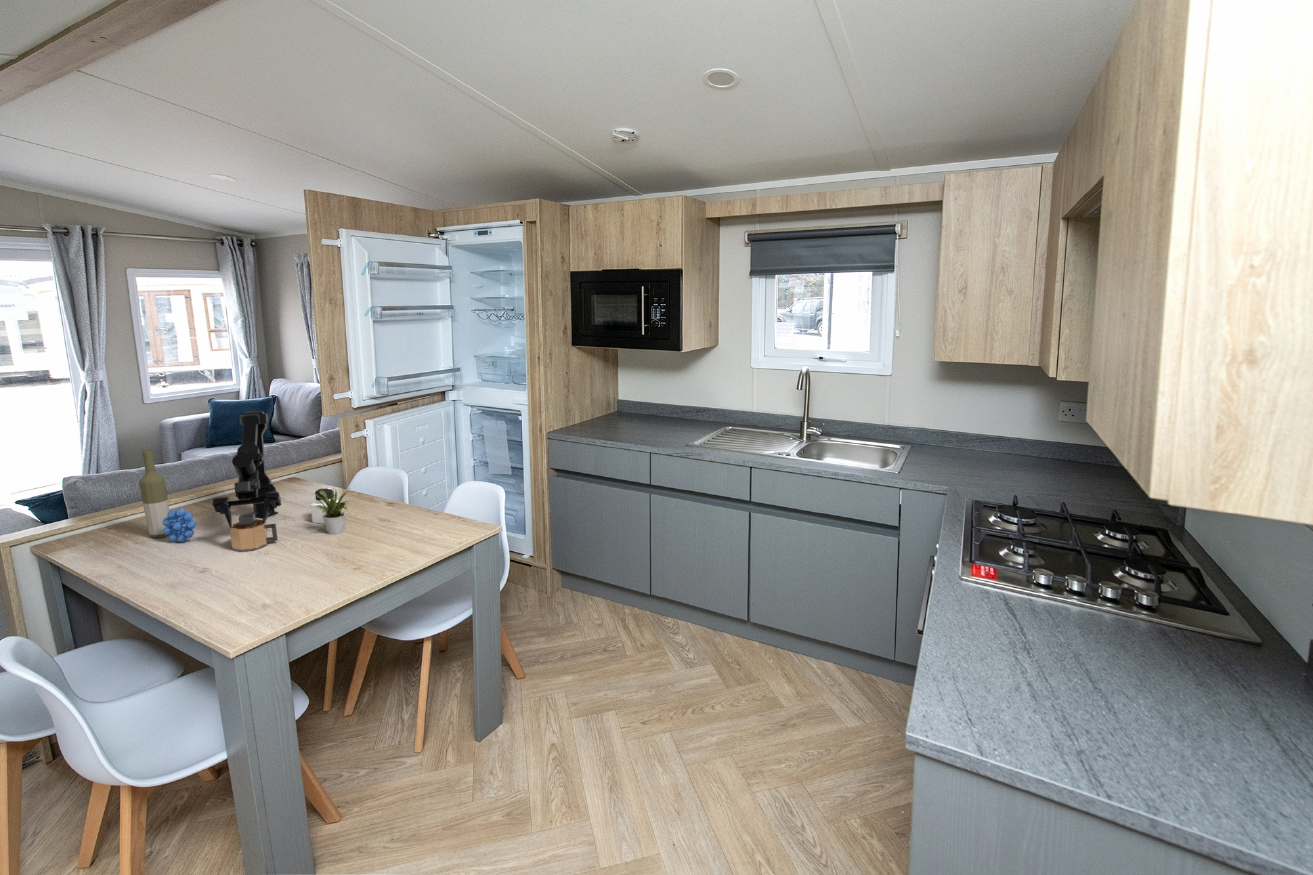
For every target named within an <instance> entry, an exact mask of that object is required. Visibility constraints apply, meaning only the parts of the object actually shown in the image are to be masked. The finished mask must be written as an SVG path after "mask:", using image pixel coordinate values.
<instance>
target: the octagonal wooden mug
mask: <svg viewBox="0 0 1313 875" xmlns="http://www.w3.org/2000/svg"><path fill="white" fill-rule="evenodd" d="M255 519H256V522H255V524H254V525H250V528H247V526H242V527H240V526H239V521H238V522H235V523H232V526H231V527H230V526H229V534H230V541H231V548H232V550H233V551H234V552H238V553H245V552H253V551H257V549H258V550H261V549H263V548H265V547H267V546H268V545H269V543H270V542H277V541H278V540H279V539H278V532H277V531H278V529H277V523H270V524H269V523H268V524H267V521H266V522H265V523H263V519H261V518H255ZM267 529H271V534H272V536H271V537H268V530H267Z"/></svg>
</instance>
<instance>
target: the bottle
mask: <svg viewBox="0 0 1313 875" xmlns="http://www.w3.org/2000/svg"><path fill="white" fill-rule="evenodd" d="M141 455H142V457H143V458H142V459H143V464H144V469H145V472H144V474H143V476H142V477H141V478H140V480H139V482H138V486H139V490H140V495H141V500H142V505H143V510H144V515H145V521H146V526H147V530H148V536H150V537H151V538H163V537H167V536H168V535H165V534H164V533H163V530H164V528H165V527H167V526H164V525H163V523H162V522H163V520H164V518H167V514H168V512H169V511H170V505H169V496H168V491H167V483H166V479H165V477H164V476H162V474H159V473H158V472H157V471H156V466H155V460H154V452H153V450H152V449H145V450H141Z"/></svg>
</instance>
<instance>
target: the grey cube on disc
mask: <svg viewBox="0 0 1313 875" xmlns="http://www.w3.org/2000/svg"><path fill="white" fill-rule="evenodd" d="M256 519H257V518H256V517H255V513H254V512H249V513H240V514H239V516H238V522H239V526H240V527H242V526H247V528H250V525H254V524H255V522H256Z"/></svg>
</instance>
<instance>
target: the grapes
mask: <svg viewBox="0 0 1313 875" xmlns="http://www.w3.org/2000/svg"><path fill="white" fill-rule="evenodd" d="M193 518H194V514H193V513H191V512H190V511H186V509H184V508H183V507H180V508H177V509H176V510H175V509H173V510H172V509H171V510H169V512H168V514H167V518H164V520H163V522H162V523H163V525H164V526H167V527H165V528H164V530H163V533H164V534H165V535H167V536H169V537H168V540H169V541H170V542H176V541H177V542H179V543H182V544H183V543H185V542H186V541H187V539H190V538H193V537H194V534H195V531H194V530H195V529H196V527H197V522H196V521H195V520H192V519H193Z"/></svg>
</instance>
